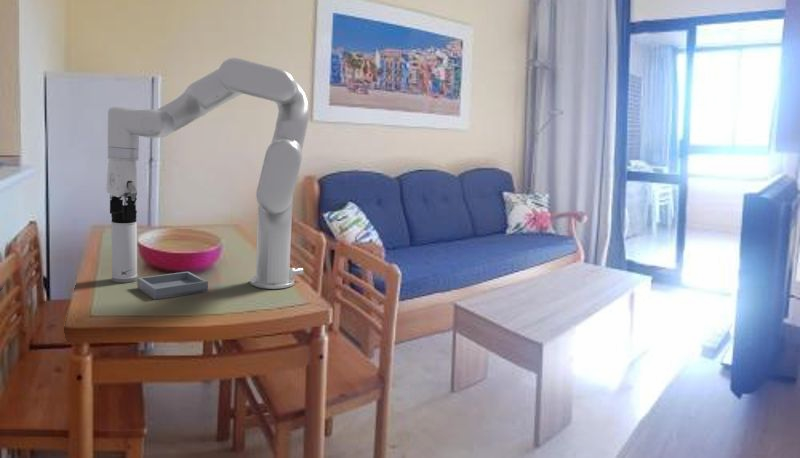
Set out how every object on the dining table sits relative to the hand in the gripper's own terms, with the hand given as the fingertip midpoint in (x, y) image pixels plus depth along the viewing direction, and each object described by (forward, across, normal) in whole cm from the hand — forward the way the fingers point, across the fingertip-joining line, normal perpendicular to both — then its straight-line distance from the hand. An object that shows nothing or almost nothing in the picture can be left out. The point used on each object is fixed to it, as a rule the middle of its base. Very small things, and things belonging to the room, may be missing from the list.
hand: (122, 216), depth 154 cm
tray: (+18, +16, +8) cm, 25 cm away
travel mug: (+18, 0, +1) cm, 18 cm away
